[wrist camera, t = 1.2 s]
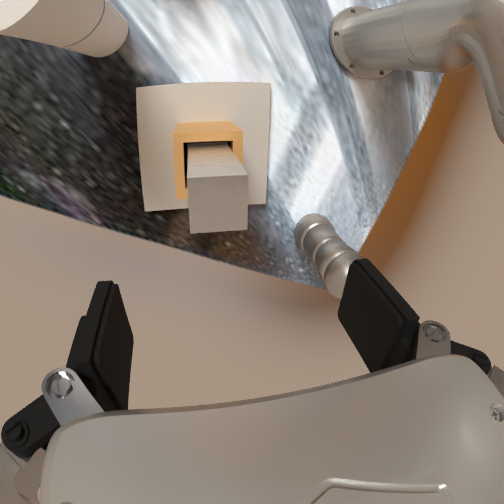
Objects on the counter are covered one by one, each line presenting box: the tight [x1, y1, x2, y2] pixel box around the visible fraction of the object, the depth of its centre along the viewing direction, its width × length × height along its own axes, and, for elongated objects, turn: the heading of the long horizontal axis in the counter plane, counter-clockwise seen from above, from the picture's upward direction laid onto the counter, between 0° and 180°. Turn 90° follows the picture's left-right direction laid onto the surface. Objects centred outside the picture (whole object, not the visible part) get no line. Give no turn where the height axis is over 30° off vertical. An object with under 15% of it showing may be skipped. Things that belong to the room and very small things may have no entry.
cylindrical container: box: [0, 0, 128, 57], centre depth 18 cm, size 7×7×25 cm
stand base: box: [136, 82, 271, 212], centre depth 34 cm, size 18×18×13 cm
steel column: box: [187, 141, 249, 234], centre depth 29 cm, size 4×4×22 cm
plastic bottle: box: [294, 214, 365, 299], centre depth 41 cm, size 6×7×20 cm
